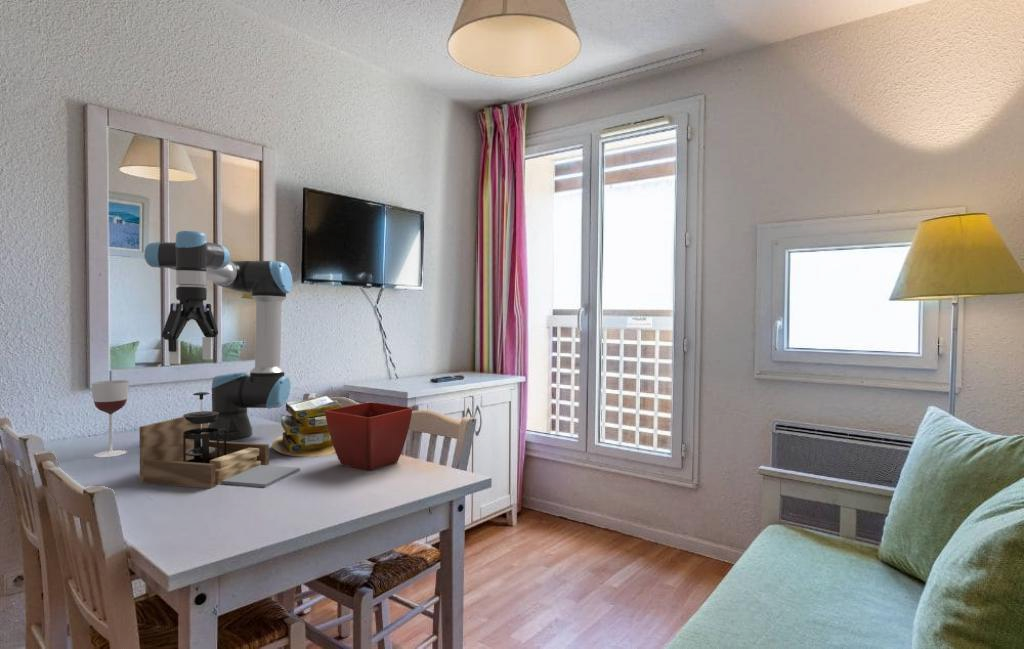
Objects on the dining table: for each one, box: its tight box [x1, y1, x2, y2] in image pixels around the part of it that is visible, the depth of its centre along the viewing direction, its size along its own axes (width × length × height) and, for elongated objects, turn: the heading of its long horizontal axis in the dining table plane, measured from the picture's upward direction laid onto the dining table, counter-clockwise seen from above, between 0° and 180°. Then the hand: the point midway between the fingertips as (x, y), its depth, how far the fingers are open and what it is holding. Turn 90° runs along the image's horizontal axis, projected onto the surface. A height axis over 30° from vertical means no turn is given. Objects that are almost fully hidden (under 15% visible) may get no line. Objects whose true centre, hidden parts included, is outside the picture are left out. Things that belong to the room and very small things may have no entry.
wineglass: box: [91, 379, 130, 458], centre depth 180 cm, size 9×10×23 cm
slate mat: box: [221, 464, 301, 488], centre depth 157 cm, size 16×13×1 cm
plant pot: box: [325, 401, 413, 471], centre depth 172 cm, size 19×19×17 cm
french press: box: [182, 391, 227, 464], centre depth 160 cm, size 12×9×23 cm
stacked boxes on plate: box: [271, 395, 343, 457], centre depth 191 cm, size 25×25×17 cm
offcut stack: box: [210, 448, 261, 486], centre depth 158 cm, size 18×5×6 cm, turn 169°
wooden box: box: [139, 416, 270, 489], centre depth 160 cm, size 24×22×15 cm
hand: (191, 361), depth 159 cm, fingers open, 13 cm apart
